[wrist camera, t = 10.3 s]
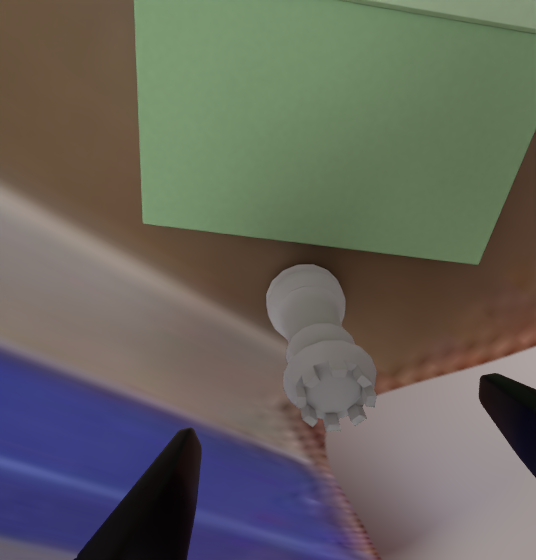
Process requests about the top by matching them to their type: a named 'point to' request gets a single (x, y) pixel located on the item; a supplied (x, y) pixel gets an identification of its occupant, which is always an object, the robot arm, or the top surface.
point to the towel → (336, 119)
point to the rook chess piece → (320, 348)
